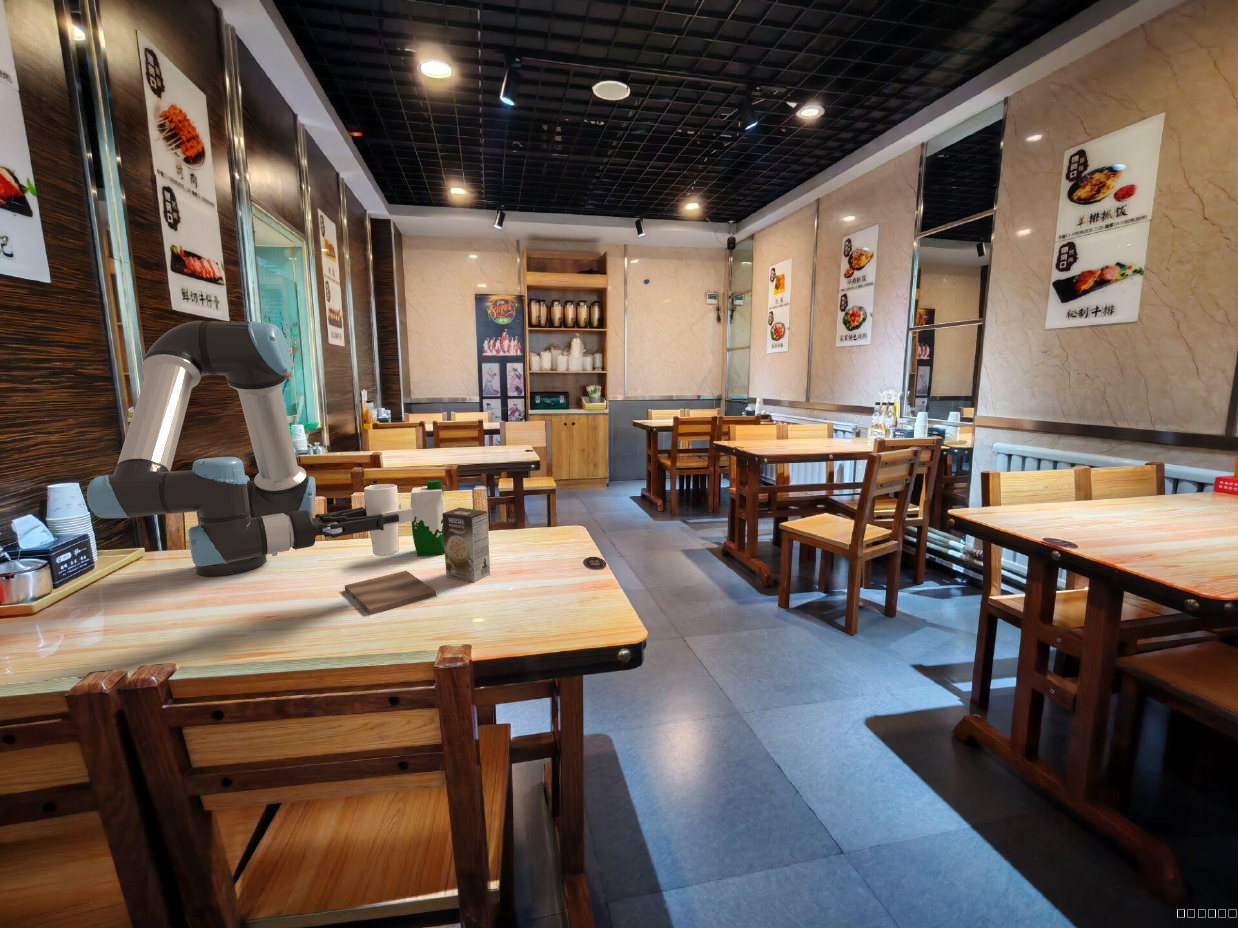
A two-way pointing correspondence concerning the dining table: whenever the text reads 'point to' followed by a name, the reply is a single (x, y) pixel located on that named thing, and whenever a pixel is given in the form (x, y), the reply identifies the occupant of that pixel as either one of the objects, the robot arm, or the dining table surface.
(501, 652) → the dining table surface
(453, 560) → the coffee box
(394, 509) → the drinking glass
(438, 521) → the milk carton
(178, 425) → the robot arm
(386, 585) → the serving board
